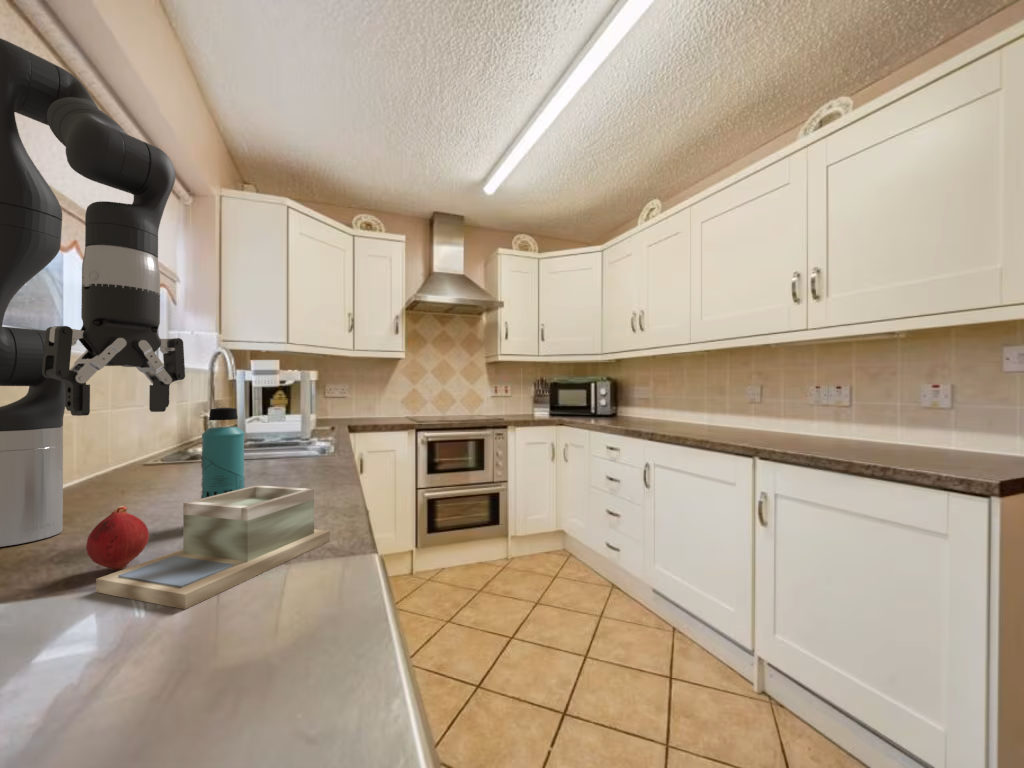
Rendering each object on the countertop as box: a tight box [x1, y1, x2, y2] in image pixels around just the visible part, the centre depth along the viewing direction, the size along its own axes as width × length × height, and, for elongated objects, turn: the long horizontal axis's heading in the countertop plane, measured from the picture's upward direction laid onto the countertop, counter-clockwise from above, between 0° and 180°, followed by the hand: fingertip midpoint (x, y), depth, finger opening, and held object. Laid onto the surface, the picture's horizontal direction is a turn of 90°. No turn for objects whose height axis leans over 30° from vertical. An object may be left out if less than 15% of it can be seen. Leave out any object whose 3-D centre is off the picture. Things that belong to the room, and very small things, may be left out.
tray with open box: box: [95, 484, 331, 610], centre depth 56 cm, size 14×21×8 cm, turn 162°
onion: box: [85, 505, 150, 571], centre depth 55 cm, size 6×6×8 cm
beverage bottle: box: [200, 407, 245, 499], centre depth 75 cm, size 6×7×20 cm
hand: (121, 413), depth 55 cm, fingers open, 8 cm apart
